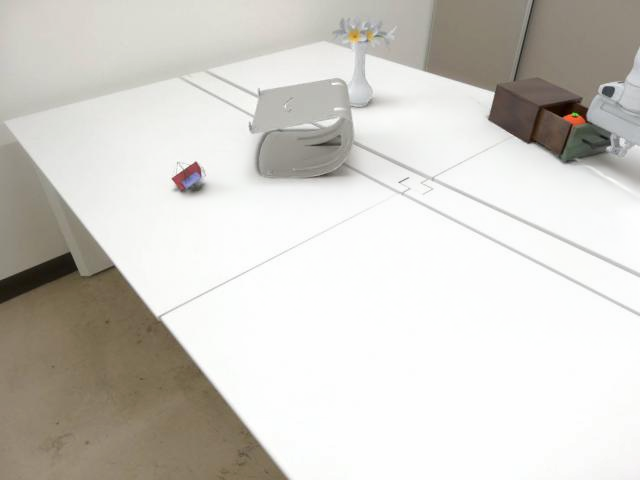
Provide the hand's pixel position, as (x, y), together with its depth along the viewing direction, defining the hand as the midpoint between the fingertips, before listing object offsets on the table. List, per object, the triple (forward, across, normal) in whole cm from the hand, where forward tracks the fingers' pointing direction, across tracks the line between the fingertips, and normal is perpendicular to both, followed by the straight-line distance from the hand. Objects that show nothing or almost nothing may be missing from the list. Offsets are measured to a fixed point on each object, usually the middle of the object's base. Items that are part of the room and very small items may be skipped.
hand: (616, 154), depth 107 cm
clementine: (+4, +15, -1) cm, 15 cm away
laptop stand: (+6, +38, +64) cm, 75 cm away
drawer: (+4, +13, -1) cm, 14 cm away
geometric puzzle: (+6, +32, +94) cm, 100 cm away
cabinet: (+5, +28, -1) cm, 29 cm away
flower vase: (+6, +63, +36) cm, 72 cm away
